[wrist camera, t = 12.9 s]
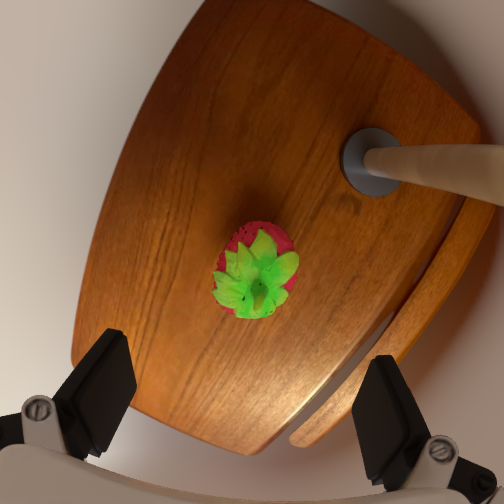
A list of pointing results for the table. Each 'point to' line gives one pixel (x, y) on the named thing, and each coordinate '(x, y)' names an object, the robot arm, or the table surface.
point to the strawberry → (255, 270)
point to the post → (422, 166)
